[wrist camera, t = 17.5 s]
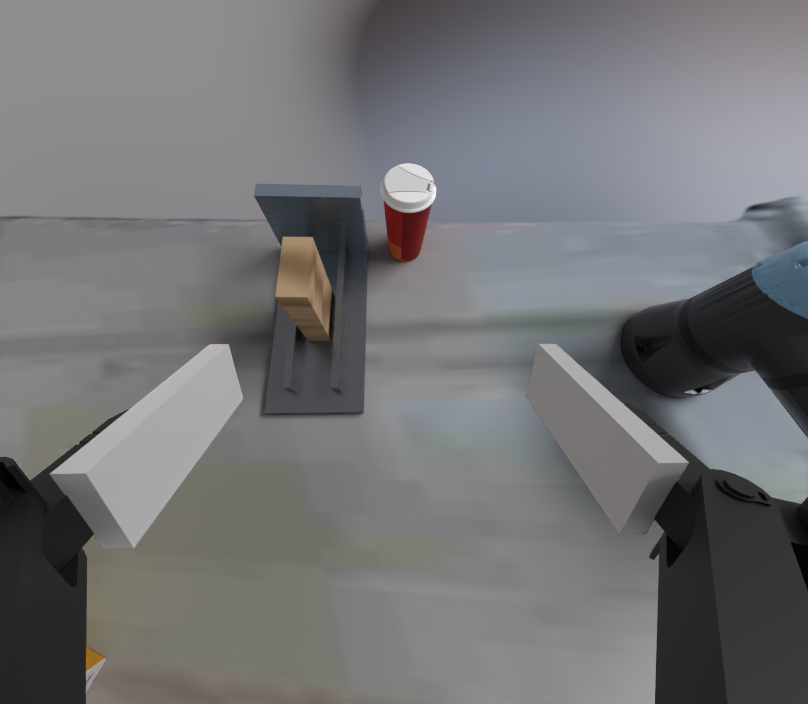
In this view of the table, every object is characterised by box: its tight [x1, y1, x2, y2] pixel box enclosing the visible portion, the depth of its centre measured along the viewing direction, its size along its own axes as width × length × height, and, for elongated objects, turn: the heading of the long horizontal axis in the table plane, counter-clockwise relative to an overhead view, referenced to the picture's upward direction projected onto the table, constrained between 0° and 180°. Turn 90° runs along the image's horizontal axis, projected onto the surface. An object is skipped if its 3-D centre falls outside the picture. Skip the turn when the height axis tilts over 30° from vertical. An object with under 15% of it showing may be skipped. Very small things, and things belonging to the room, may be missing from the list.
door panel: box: [275, 237, 334, 341], centre depth 42 cm, size 8×4×14 cm, turn 1°
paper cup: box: [380, 164, 436, 262], centre depth 47 cm, size 8×8×14 cm
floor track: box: [254, 184, 368, 414], centre depth 43 cm, size 30×14×13 cm, turn 1°
